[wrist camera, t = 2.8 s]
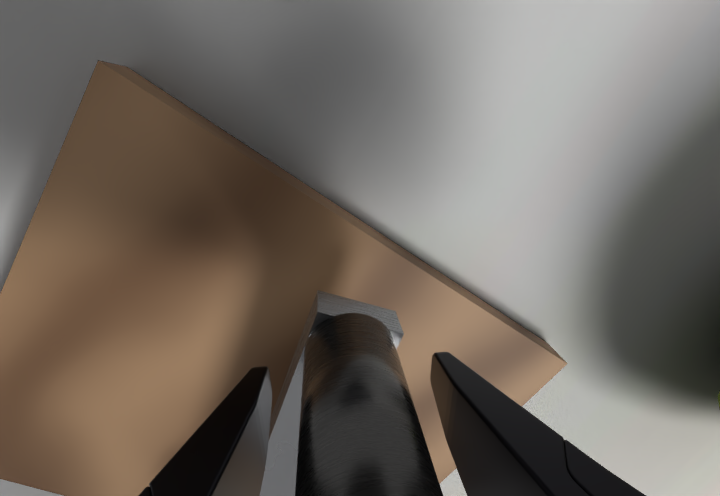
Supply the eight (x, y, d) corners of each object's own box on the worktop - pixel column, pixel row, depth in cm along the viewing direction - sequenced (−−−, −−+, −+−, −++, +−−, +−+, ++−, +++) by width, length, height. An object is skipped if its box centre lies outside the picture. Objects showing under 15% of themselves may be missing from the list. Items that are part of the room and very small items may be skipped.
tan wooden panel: (553, 347, 17) (702, 498, 11) (352, 542, 22) (366, 735, 15) (126, 66, 11) (-199, -6, 4) (-35, 428, 15) (-314, 680, 9)
